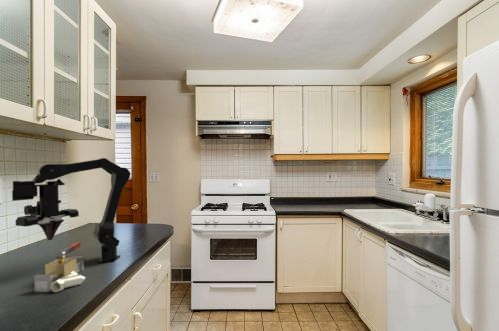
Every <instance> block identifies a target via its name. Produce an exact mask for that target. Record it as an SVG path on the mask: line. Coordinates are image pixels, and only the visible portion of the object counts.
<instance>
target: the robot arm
mask: <svg viewBox="0 0 499 331" xmlns="http://www.w3.org/2000/svg"><path fill="white" fill-rule="evenodd" d="M97 169H102V170H103V171H105V172H106V173H108V174H109V175H110V176H111V177H110V181H111V182H110V185H111V188H110V191H109V195H108V197H107V198H108V199H107V201H106V205H105V209H104V213H103V216H102V220H101V221H100V222H99V223H97V222H96V223H95V224H94V226H95V227H94V230H93V231H92V233H93V237H94V239H95V240H96V241H97V242H99V244H100V245H101V248H100V249H101V251H100V252H101V258H100V259H99V260H97V262H98V263H113V262H115V261H117V260H118V259H119V258H121V255H119V254H118V247H119V243H120V240H119V239H118V238H116V237H115V236H114V234H115V224H114V223H115V222H114V221H115V218H116V216H117V211H118V206H119V203H120V200H121V196H122V192H123V189H124V188H125V186H126V185H127V184H128V181H129V179H130V177H131V172H130V170H129V169H128V168H126V167H121V166H120V165H118V164H116V163H114V162H112V161H110V160H109V159H108V158H105V157H102V158H99V159H93V160H92V159H91V160H85V161H79V162H72V163H59V164H58V163H57V164H55V163H54V164H52V163H51V164H50V163H49V164H48V163H47V164H43V165H41V166H40V167H39V168H38V170H37V171H38V172H37V175H36V176H35V177H34V178H33V179H32V180H23V181H20V180H14V181H12V190H11V197H12V202H18V201H28V200H30V201H31V200H34V198H35V197H37V196H38V195H39V196H38V197H39V198H38V199H39V200H38V201H37V202H36V205H35V206H33V205H32V204H30V205H25V206H23V213H24V216H18V217H16V220H15V226H17V227H30V226H35V225H36V226H37V225H38V226H39V227H40V228H41V229H42V231H43V233H44V235H45V237H46V239H47V240H48V241H52V240H53V239H54V236H55V234H57V233H56V232H57V231H58V229H59V227H60V226H61V224H62V223H63V222H65V219H63V217H69V218H71V219H72V218H76V217H79V216H80V214H79V210H78V209H76V208H65V209H60V204H61V203H62V200H61V199H60V197H59V194H60V193H59V186H65V182H64V181H62V179H60V178H61V177H64V176H66V175H69V174H74V173H80V172H85V171H91V170H97ZM54 180H55V181H54ZM44 182H46V183H45V184H43V183H44ZM38 188H39V189H38ZM38 191H39V192H38Z"/></svg>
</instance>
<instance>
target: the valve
mask: <svg viewBox="0 0 499 331" xmlns="http://www.w3.org/2000/svg"><path fill="white" fill-rule="evenodd" d="M44 267H45V268H44V274H36V275H34V276H33V282H34V284H33V285H34V286H33V287H34V290H33V292H34V293H48V292H49V293H51V292H53V291H52V290H51V283H53V282H54V281H56V280H58V279H60V278H62V277H63V276H65V275H66V274H68V273H70V272H72V271H75V272H76V273H77V274H79V272H82V271H84V270H85V257H84V256H69V257H64V258H59V259H56V258H55V260H52V261H51V262H48V263H46V264H44Z"/></svg>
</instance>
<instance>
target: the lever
mask: <svg viewBox="0 0 499 331" xmlns="http://www.w3.org/2000/svg"><path fill="white" fill-rule="evenodd" d="M81 244H82V243H81V241H80V242H74V243H71V244H70V245H68V246H67V247H66V248H64V249H62V250H59V251H56V252H55V253H54V254H55V256H54V257H55V260H56V259H59V258H67V256H68V255H69V254H70V253H72V252H75V251H76V250H78V249H80V248H81Z"/></svg>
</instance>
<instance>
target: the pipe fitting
mask: <svg viewBox="0 0 499 331" xmlns="http://www.w3.org/2000/svg"><path fill="white" fill-rule="evenodd" d="M85 280H86V276H84V275H82V274H81V273H76V272H75V271H72V272H70V273H68V274H66V275H65V276H63V277H62V278H60V279H58V280H56V281H54V282H53V283H51V290H52V291H51V292H54V293H58V292H60V291H63V290H64V289H68V288H71V287H77V286H80V285H82V284H83V282H84V281H85Z"/></svg>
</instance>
